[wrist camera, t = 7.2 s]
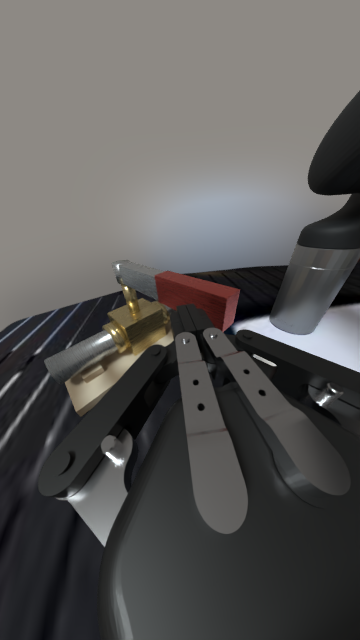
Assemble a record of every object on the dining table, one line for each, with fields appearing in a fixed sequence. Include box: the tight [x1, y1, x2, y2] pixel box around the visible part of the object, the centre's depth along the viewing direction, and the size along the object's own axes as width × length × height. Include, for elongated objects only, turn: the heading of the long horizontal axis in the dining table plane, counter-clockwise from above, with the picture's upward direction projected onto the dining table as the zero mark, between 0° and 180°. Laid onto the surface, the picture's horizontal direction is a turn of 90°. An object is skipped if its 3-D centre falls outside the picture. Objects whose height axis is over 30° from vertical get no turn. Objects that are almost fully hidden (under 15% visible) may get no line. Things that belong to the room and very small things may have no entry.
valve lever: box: [112, 260, 240, 332], centre depth 18 cm, size 20×3×3 cm, turn 46°
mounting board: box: [65, 322, 174, 416], centre depth 32 cm, size 30×12×3 cm, turn 136°
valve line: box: [44, 284, 177, 384], centre depth 28 cm, size 30×7×13 cm, turn 136°
